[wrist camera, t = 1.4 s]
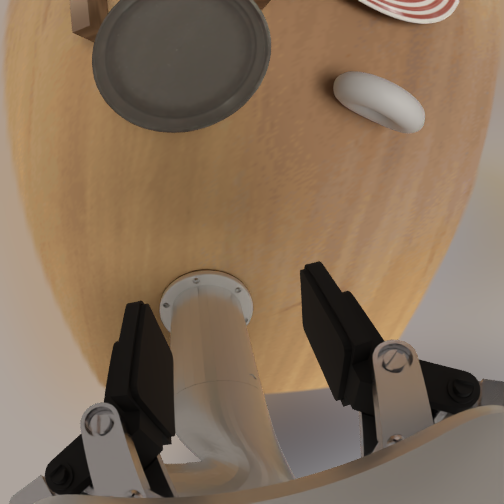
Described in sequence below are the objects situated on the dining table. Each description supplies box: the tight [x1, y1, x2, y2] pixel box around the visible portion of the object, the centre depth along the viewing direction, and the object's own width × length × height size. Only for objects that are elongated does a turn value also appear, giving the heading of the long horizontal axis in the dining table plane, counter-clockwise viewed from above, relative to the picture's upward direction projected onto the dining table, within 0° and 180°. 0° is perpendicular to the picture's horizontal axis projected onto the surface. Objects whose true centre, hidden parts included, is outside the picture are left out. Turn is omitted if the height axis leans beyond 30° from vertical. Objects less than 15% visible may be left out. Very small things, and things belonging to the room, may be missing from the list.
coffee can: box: [92, 0, 271, 133], centre depth 19 cm, size 10×10×14 cm
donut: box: [333, 71, 425, 133], centre depth 25 cm, size 10×3×10 cm, turn 69°
